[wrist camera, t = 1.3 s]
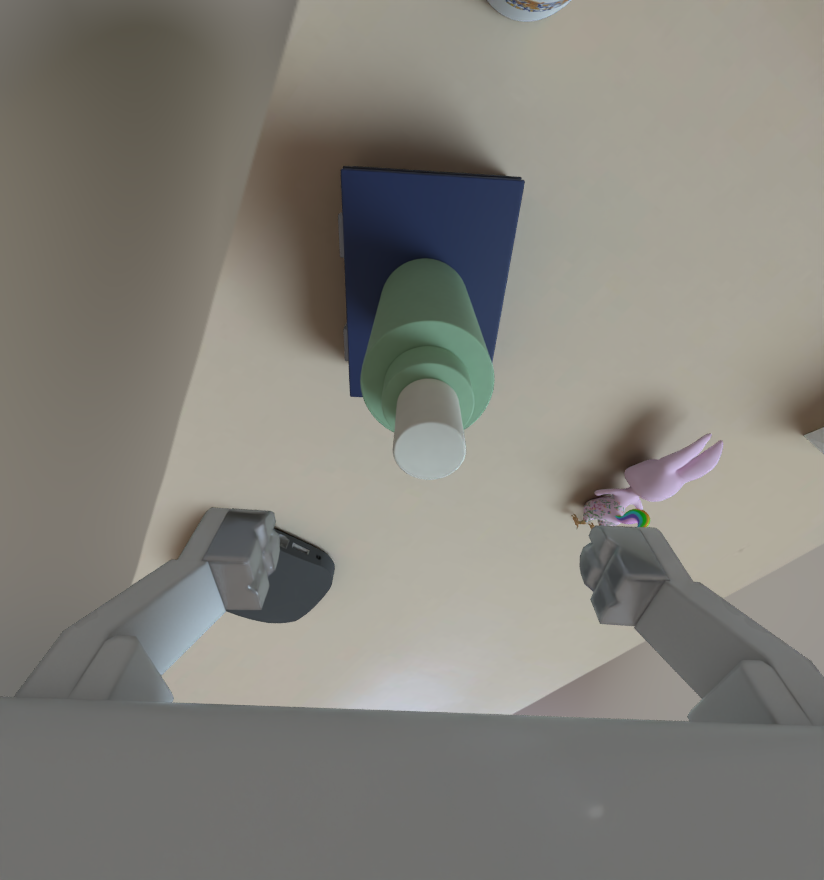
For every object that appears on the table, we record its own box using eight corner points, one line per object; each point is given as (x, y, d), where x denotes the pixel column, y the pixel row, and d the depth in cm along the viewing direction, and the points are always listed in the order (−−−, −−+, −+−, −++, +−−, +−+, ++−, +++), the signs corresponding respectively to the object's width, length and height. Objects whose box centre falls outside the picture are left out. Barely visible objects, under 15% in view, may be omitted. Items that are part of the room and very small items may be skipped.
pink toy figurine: (599, 518, 46) (731, 439, 36) (613, 567, 41) (767, 490, 32) (557, 498, 44) (683, 408, 35) (567, 546, 40) (714, 459, 30)
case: (345, 164, 26) (331, 166, 22) (510, 174, 26) (527, 178, 22) (352, 368, 34) (343, 397, 30) (477, 374, 34) (485, 404, 30)
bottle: (380, 255, 24) (338, 369, 12) (473, 260, 24) (534, 379, 12) (380, 344, 28) (346, 509, 15) (462, 348, 28) (499, 517, 15)
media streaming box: (185, 573, 50) (173, 594, 48) (230, 505, 43) (218, 526, 41) (292, 614, 55) (286, 635, 53) (347, 558, 48) (343, 580, 46)
